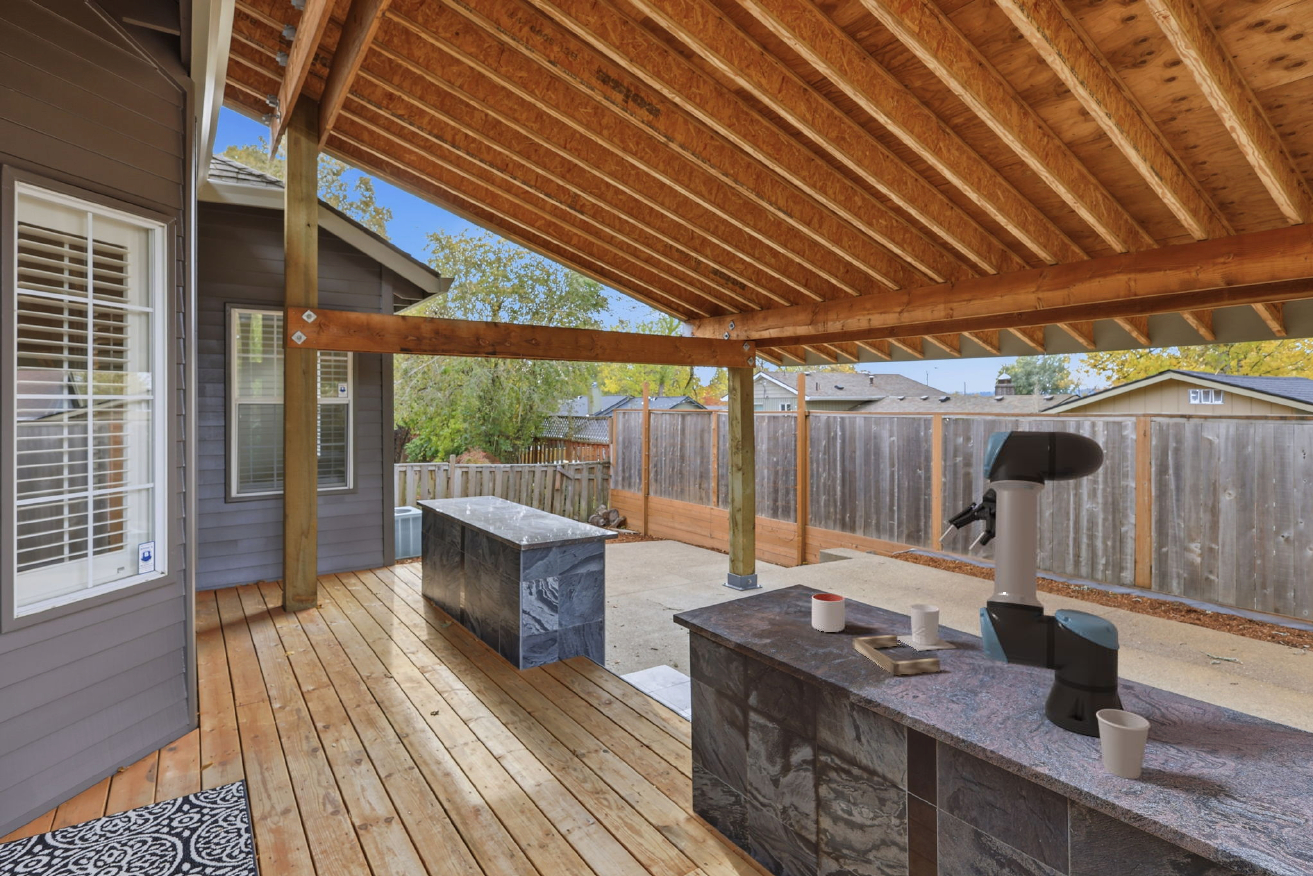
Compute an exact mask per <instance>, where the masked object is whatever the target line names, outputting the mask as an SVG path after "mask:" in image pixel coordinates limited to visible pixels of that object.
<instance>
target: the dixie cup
mask: <svg viewBox="0 0 1313 876" xmlns="http://www.w3.org/2000/svg"><path fill="white" fill-rule="evenodd" d="M1096 716H1097V718H1098V723H1099V731H1100V737H1099V738H1100V746H1101V755H1102V762H1103V768H1104V770H1105V771H1107V772H1108V773H1110V774H1111V775H1113V776H1115V777H1119V778H1123V779H1132V780H1134V779H1135V780H1136V779H1139V778H1140V777H1141V773H1142V769H1143V763H1144V756H1145V751H1146V747H1147V740H1148V736H1149V735H1148V733H1149V729H1150V728H1151V723H1150V721H1149V720H1147V719H1146V718H1145V717H1143V716H1141V715H1139V714H1136V713H1133V712H1130V711H1126V710H1124V711H1122V710H1116V709H1103V710H1100V711H1098V712H1097V713H1096Z"/></svg>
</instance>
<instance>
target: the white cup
mask: <svg viewBox="0 0 1313 876" xmlns="http://www.w3.org/2000/svg"><path fill="white" fill-rule="evenodd" d="M939 623H940V608H939V607H937V606H935V605H932V604H931V605H930V604H922V603H921V604H920V603H919V604H918V603H917V604H912V605H910V627H911V635H912V639H913V641H914V642H915V643H918V644H923V645H934V644H936V643H937V638H938V633H939V625H940V624H939Z"/></svg>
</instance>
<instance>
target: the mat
mask: <svg viewBox="0 0 1313 876" xmlns="http://www.w3.org/2000/svg"><path fill="white" fill-rule="evenodd" d="M896 636H897V635H896ZM898 640H900V641H901V643H902V642H903V643H902V644H904V643H905V644H904V645H906V644H907V645H909V646H911V647H913V648H914V649H916V650H917V652H918V651H921V652H927V651H926V650H931V651H938V650H937V649H940V650H939V651H941V649H942V650H950V649H956V646H955V645H953V644H952V643H949V642H947V641H946V640H943V639H941V638H939V637H937V643H936V644H934V645H923V644H918V643H915V642H914V641H913V639H912V634H910V635H909V634H908V635H898V636H897V641H898ZM900 641H899V642H900ZM907 645H906V646H907ZM909 646H908V647H909ZM911 647H910V648H911ZM913 648H912V649H913ZM914 649H913V650H914ZM916 650H915V651H916Z"/></svg>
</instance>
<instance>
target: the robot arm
mask: <svg viewBox="0 0 1313 876" xmlns="http://www.w3.org/2000/svg"><path fill="white" fill-rule="evenodd" d="M986 445H987V446H986V450H985V455H984V465H983V471H982V472H983V476H982V477H983V478H984V479H987V480H989V487H990V488H989V489H987V491H985V493H984V494H983V495H982V502H981V503H979V504H977V503H976V502H975V501H973V502H972V503H970V504H969V506H967V507H966V508H965V509H963V510H962V511H960V512H959V513H957V514H956V515H954V516H953V517H951V518H950V519H948V521H947V522H948V523H949V524H950V526H949V527H948V528H947V530H945V532H944V534H943V535H941V537H940V538H939V539H938V541H939V542H940V543H941V544H942V546H943V547H947V546H948V545H949V544H950V542H951V541H953V539H954V537H956V535H957V534H958V533H959V532H960V531H959V530H960V529H962V528H964V527H966V526H967V525H969V524H971V523H974V522H975V521H977V522H978V521H985V529H984V531H983V532H982V533H981V534H980V535H979V536H978V537H977V538H976V539H975V540H974V542H973V543H972V545H970V547H968V550H969V551H970V552H971V553H972V554H973V555H974V556H977V555H978V554H979V553H980V552H981V551H982V549H983V548H984V547H985V546H987V544H988V543H989V542H990V541H991V540H992V539H994V538H995V543H994V544H995V546H994V547H995V548H994V550H995V551H994V552H995V553H994V582H993V583H994V584H993V585H994V587H993V588H994V589H993V594H992V595H991V596H990V597H988V599H986V606H982V607H980V608H979V623H980V632H981V640H982V646H983V652H984V654H985V656H986V657H987V658H988V659H989V660H991V661H996V662H1001V663H1005V664H1007V665H1009V664H1011V665H1016V666H1017V665H1018V666H1022V667H1023V666H1025V667H1029V668H1031V667H1032V668H1035V669H1036V668H1038V669H1045V670H1051V671H1054V681H1053V684H1052V686H1051V688H1050V692H1049V694H1048V697H1047V700H1046V701H1045V703H1044V715H1045V717H1046V719H1048V720H1049V722H1051V723H1053V724H1054V725H1055V726H1058V727H1059V728H1062V729H1065V730H1067V731H1071V732H1072V733H1076V734H1081V735H1086V736H1090V737H1099V738H1100V731H1099V723H1098V718H1097V716H1096V713H1097V712H1098V711H1100V710H1103V709H1116V710H1122V711H1125V710H1124V707H1123V703H1122V702H1121V698H1120V694H1119V691H1118V690H1119V682H1118V681H1119V672H1118V671H1119V649H1120V648H1121V646H1120V644H1119V631H1118V628H1117V626H1116V625H1115V624H1114V623H1112V622H1111V621H1110V620H1109V619H1106V618H1105V617H1101V616H1099V615H1097V614H1092V613H1089V612H1086V611H1082V610H1076V609H1070V608H1069V609H1068V608H1067V609H1066V608H1059V609H1057V610H1056V611H1055V613H1054V615H1048V614H1045V612H1044V611H1045V610H1044V609H1045V605H1043V604H1042V603H1041V602H1040V601H1039V600H1038V597H1037V572H1038V571H1037V565H1038V563H1037V562H1038V561H1037V560H1038V559H1037V555H1038V554H1037V553H1038V552H1037V551H1038V550H1037V549H1038V547H1037V544H1038V543H1037V541H1038V539H1037V538H1038V535H1037V534H1038V495H1039V493H1041V492H1042V491H1043V490H1044V489H1046V486H1045V485H1046V483H1045V482H1046V481H1047V482H1048V481H1049V482H1064V481H1073V480H1078V479H1082V478H1083V479H1084V478H1086V477H1089V476H1092V475H1093V474H1095V473H1096V472H1097V471H1098V472H1099V470H1100V469H1101V467H1102V466H1103V463H1104V459H1105V458H1104V457H1105V455H1104V450H1103V449H1102V447H1101V445H1100V444H1099V443H1098V442H1096V441H1095V440H1094V439H1092V438H1091V437H1087V436H1084V435H1081V434H1077V433H1074V432H1069V431H1068V432H1067V431H1035V430H1034V431H1033V430H1031V431H1028V430H1026V431H1025V430H1010V431H1009V430H1007V431H995V432H993V433H991V435H990V436H989V438H988V442H987V444H986Z"/></svg>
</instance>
